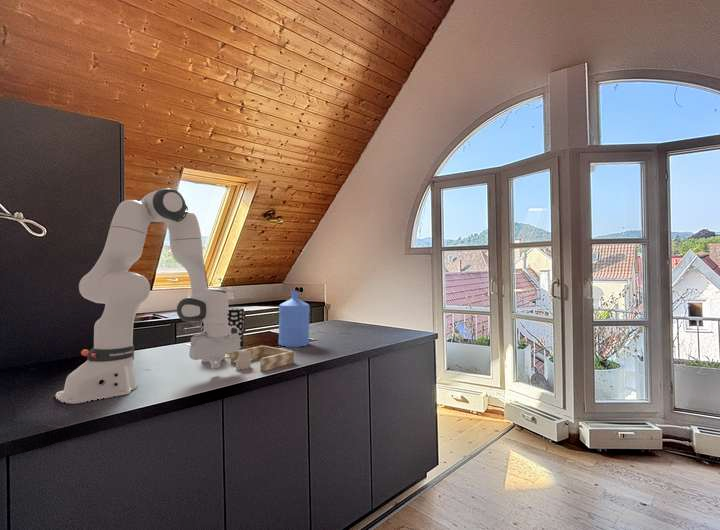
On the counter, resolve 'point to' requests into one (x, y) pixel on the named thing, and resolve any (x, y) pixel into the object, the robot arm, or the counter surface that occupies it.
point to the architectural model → (243, 360)
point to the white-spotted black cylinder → (237, 322)
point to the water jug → (294, 322)
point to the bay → (268, 356)
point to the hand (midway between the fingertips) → (215, 367)
